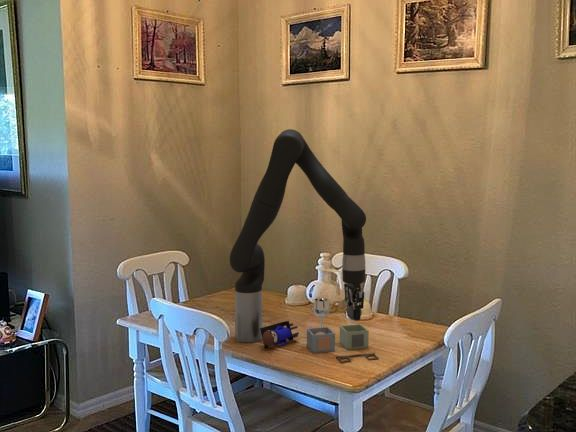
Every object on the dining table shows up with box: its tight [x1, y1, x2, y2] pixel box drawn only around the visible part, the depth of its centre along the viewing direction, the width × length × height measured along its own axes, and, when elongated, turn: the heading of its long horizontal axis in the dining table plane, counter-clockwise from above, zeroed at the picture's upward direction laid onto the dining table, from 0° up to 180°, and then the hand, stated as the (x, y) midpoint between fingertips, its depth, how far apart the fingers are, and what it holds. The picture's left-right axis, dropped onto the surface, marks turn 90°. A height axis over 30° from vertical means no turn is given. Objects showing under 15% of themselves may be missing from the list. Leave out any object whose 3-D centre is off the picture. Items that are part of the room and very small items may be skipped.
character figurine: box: [260, 320, 300, 349], centre depth 203 cm, size 8×7×15 cm
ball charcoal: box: [346, 305, 363, 321], centre depth 200 cm, size 5×5×5 cm
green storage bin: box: [339, 323, 370, 351], centre depth 201 cm, size 8×8×6 cm
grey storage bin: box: [306, 326, 336, 354], centre depth 198 cm, size 8×8×6 cm
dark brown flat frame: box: [335, 352, 380, 364], centre depth 189 cm, size 13×4×1 cm, turn 103°
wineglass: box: [312, 297, 330, 327], centre depth 215 cm, size 6×6×12 cm
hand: (354, 317), depth 200 cm, fingers closed on ball charcoal, 5 cm apart
